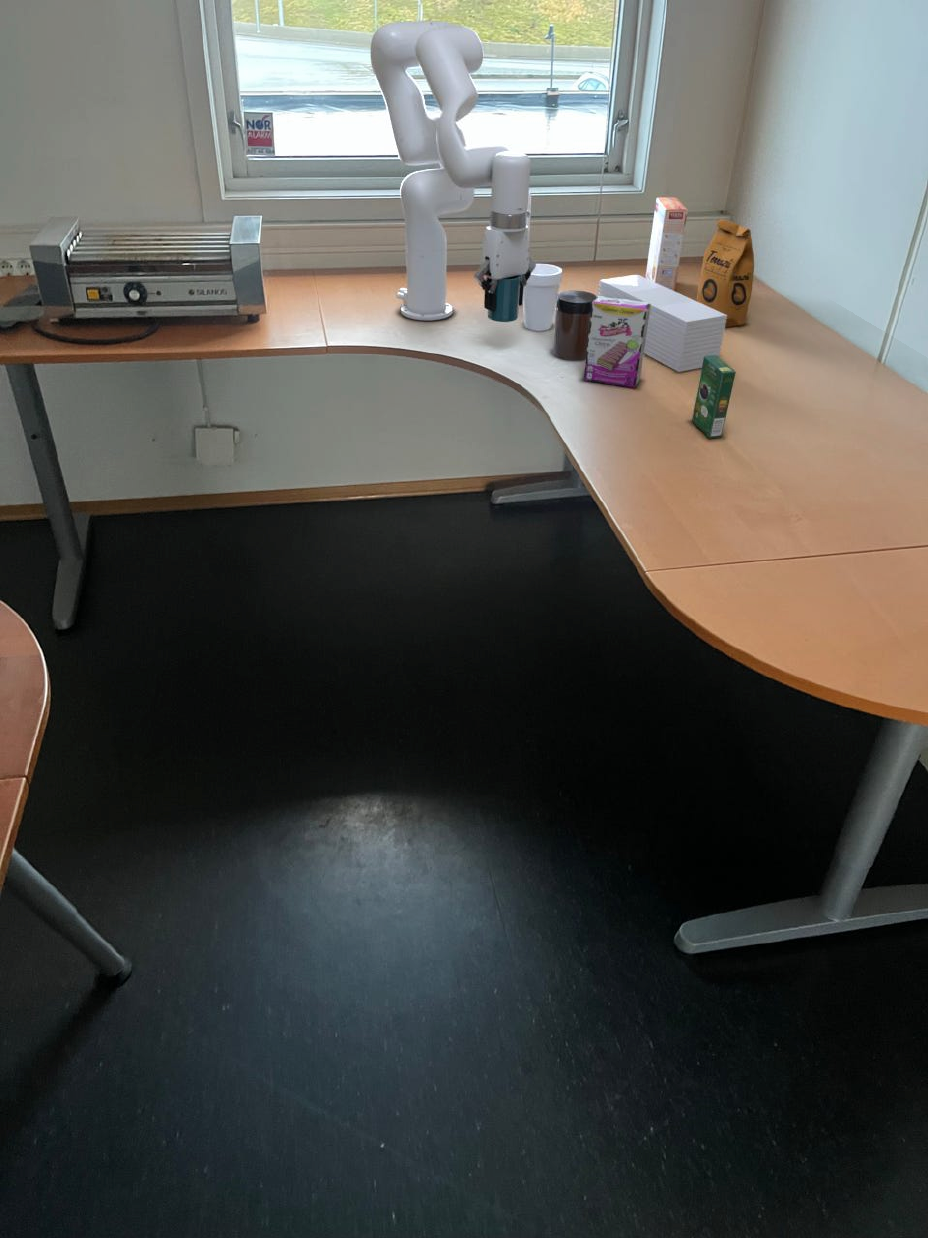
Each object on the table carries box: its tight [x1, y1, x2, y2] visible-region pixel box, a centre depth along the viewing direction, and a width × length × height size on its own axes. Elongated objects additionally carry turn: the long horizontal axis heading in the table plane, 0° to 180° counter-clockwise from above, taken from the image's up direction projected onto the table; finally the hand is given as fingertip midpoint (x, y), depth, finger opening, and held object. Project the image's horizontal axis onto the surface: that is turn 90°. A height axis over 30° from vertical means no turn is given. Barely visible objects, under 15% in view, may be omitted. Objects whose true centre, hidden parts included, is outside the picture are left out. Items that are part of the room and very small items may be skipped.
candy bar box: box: [583, 295, 651, 389], centre depth 185 cm, size 11×5×16 cm, turn 71°
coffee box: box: [691, 355, 737, 440], centre depth 168 cm, size 8×3×13 cm, turn 13°
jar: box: [552, 306, 591, 362], centre depth 199 cm, size 8×8×12 cm
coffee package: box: [696, 218, 755, 328], centre depth 216 cm, size 10×12×22 cm
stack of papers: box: [597, 274, 727, 373], centre depth 205 cm, size 32×11×11 cm, turn 27°
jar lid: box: [555, 290, 597, 314], centre depth 196 cm, size 8×8×2 cm
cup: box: [487, 275, 521, 323], centre depth 197 cm, size 7×7×9 cm
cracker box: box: [644, 196, 688, 292], centre depth 237 cm, size 14×6×21 cm, turn 179°
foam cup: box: [522, 263, 563, 332], centre depth 213 cm, size 10×9×13 cm
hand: (503, 305), depth 199 cm, fingers closed on cup, 6 cm apart
